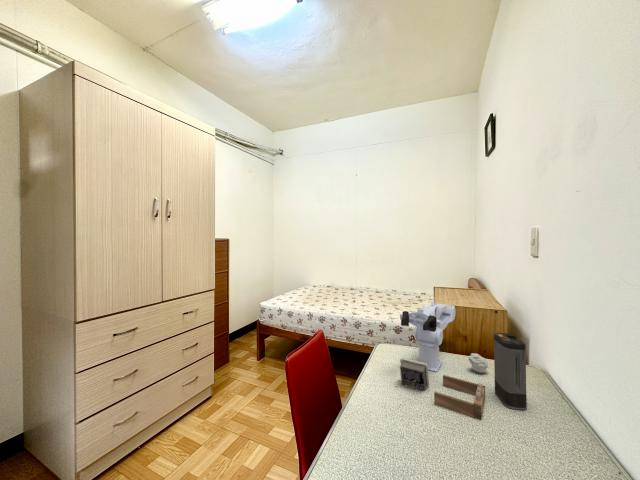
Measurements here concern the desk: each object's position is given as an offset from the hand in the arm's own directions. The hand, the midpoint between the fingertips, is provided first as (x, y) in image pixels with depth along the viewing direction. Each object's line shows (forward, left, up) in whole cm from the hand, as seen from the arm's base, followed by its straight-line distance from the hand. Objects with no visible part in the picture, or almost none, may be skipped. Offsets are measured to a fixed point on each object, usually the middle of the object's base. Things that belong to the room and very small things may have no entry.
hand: (412, 325), depth 92 cm
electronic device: (-9, +27, -22) cm, 36 cm away
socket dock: (0, +14, -21) cm, 26 cm away
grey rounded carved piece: (-25, +17, -22) cm, 38 cm away
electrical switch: (0, 0, -22) cm, 22 cm away
